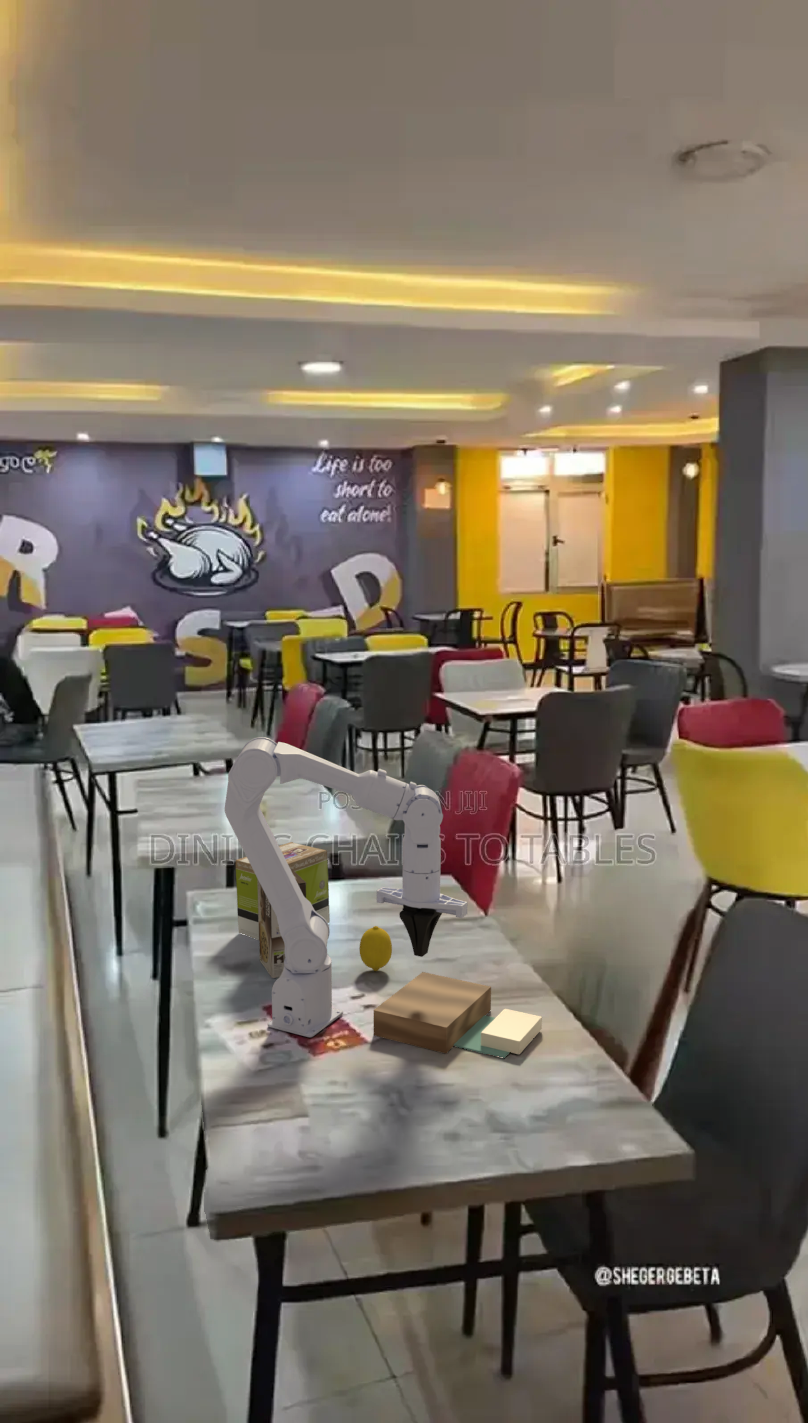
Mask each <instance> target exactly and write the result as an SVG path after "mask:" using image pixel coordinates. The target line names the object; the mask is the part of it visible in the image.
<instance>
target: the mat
mask: <svg viewBox="0 0 808 1423" xmlns="http://www.w3.org/2000/svg"><path fill="white" fill-rule="evenodd" d="M495 1018H496V1017H495V1016H490V1015H484V1016H483V1017H482V1018H481V1019H480V1020H479V1021H478V1022H477V1023H476V1024H475V1025H474V1026H473V1027H471V1028H470V1029H469V1030H468V1031H467V1032H466V1033H465V1034H464V1035H463V1036H462V1037H461V1038H460V1039H459V1040H458V1041H457V1042H456V1043H455V1044H454V1046H456V1047H455V1048H458V1047H459V1049H462V1048H464V1049H463V1050H466V1049H467V1050H466V1051H470V1050H472V1051H471V1052H474V1051H476V1052H475V1053H479V1054H482V1053H483V1055H486V1054H490V1055H494V1056H499V1057H503V1058H505V1057H506V1056H507V1055H508V1054H509V1053H510V1052H507V1051H502V1050H498V1049H494V1048H490V1047H486V1046H481V1032H482V1031H483V1030H484V1029H485V1028H486V1027H487V1026H488V1025H489V1024H490V1023H491V1022H492V1021H493V1020H494V1019H495ZM510 1054H511V1053H510ZM510 1054H509V1055H510ZM490 1055H489V1056H490ZM509 1055H508V1056H509ZM494 1056H493V1057H494ZM508 1056H507V1057H508ZM507 1057H506V1058H507ZM506 1058H505V1059H506Z"/></svg>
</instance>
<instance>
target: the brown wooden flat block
mask: <svg viewBox="0 0 808 1423" xmlns="http://www.w3.org/2000/svg"><path fill="white" fill-rule="evenodd" d="M490 1010H491V1011H492V986H490V985H484V984H482V983H476V982H471V981H466V980H462V979H457V978H453V977H448V976H443V975H439V974H436V973H435V974H434V973H429V972H426V971H425V972H424V971H422V972H421V973H419V974H418V975H417V976H415V977H414V978H413V979H412V980H410V981H409V982H408V983H406V984H405V985H404V986H403V987H401V988H400V989H399V990H397V991H396V992H395V993H394V994H392V995H391V996H390V997H388V998H387V999H386V1000H385V1001H384V1002H382V1003H380V1004H379V1006H377V1007H375V1008H374V1009H373V1036H375V1037H378V1038H382V1039H386V1040H391V1041H395V1042H398V1043H403V1044H407V1045H411V1046H414V1047H418V1048H422V1049H426V1050H430V1051H434V1052H437V1053H438V1052H439V1053H442V1054H448V1052H449V1051H451V1050H452V1049H453V1048H454V1047H453V1046H454V1044H455V1043H456V1042H457V1041H458V1040H459V1039H460V1038H461V1037H462V1036H463V1035H464V1034H465V1033H466V1032H467V1031H468V1030H469V1029H470V1028H471V1027H473V1026H474V1025H475V1024H476V1023H477V1022H478V1021H479V1020H480V1019H481V1018H482V1017H483V1016H484V1015H486V1014H487V1013H488V1014H489V1013H490V1012H491V1011H490ZM489 1011H490V1012H489ZM488 1014H487V1015H488ZM487 1015H486V1016H487ZM452 1047H453V1048H452ZM451 1048H452V1049H451ZM450 1049H451V1050H450Z"/></svg>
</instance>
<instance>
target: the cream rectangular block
mask: <svg viewBox="0 0 808 1423" xmlns="http://www.w3.org/2000/svg"><path fill="white" fill-rule="evenodd" d="M494 1018H495V1019H494V1020H493V1021H492V1022H491V1023H490V1024H489V1025H488V1026H487V1027H486V1028H485V1029H484V1030H483V1031H482V1032H481V1046H486V1047H490V1048H494V1049H498V1050H502V1051H507V1052H511V1053H512V1054H516V1055H520V1054H521V1053H522V1052H523V1051H524V1050H525V1049H526V1047H528V1045H529V1044H530V1043H531V1042H532V1041H533V1040H534V1039H535V1038H536V1036H537V1035H538V1034H539V1033H540V1032H541V1031H542V1029H543V1028H542V1026H543V1025H542V1024H543V1023H542V1022H543V1017H542V1015H535V1014H531V1013H527V1012H522V1011H519V1010H518V1011H517V1010H512V1009H510V1008H509V1009H508V1008H504V1009H503V1010H502V1011H501V1012H499V1014H498V1015H497V1016H496V1017H494ZM540 1030H541V1031H540ZM533 1038H534V1039H533ZM511 1053H510V1054H511Z"/></svg>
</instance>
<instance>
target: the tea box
mask: <svg viewBox="0 0 808 1423" xmlns="http://www.w3.org/2000/svg"><path fill="white" fill-rule="evenodd" d="M279 847H280V849H281V851H282V853H283V855H284V857H285V859H286V861H287V863H288V865H289V867H290V868H291V869H292V870H294V871H295V872H296V873H297V874H298V875H299V876H300V877H301V878H302V879H303V880H304V881H305V882H306V899H307V900H308V901H309V902H310V903H311V904H312V906H313V908H314V910H315V911H316V912H317V913H318V914H319V915H321V916H322V917H323V918H324V919H325V920H326V921H327V923H328V924H329V923H330V921H331V920H330V919H331V918H330V917H331V916H330V914H331V913H330V888H329V868H328V867H329V866H328V862H329V861H328V860H329V859H328V849H327V850H326V849H323V848H322V849H321V848H318V847H313V846H308V845H304V844H300V843H295V842H293V841H290V842H288V843H284V844H281V845H279ZM235 878H236V880H235V881H236V882H235V883H236V903H237V904H236V907H237V926H238V933H239V934H240V933H242V934H245V935H247V936H250V937H252V938H251V939H253V938H255V939H254V940H256V939H257V941H259V921H258V882H257V876H256V874H255V872H254V870H253V868H252V866H251V864H250V862H249V860H248V858H247V856H244V857H241V858H237V859H235ZM242 934H241V935H242ZM245 935H244V936H245ZM247 936H246V937H247ZM250 937H249V938H250Z"/></svg>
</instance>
